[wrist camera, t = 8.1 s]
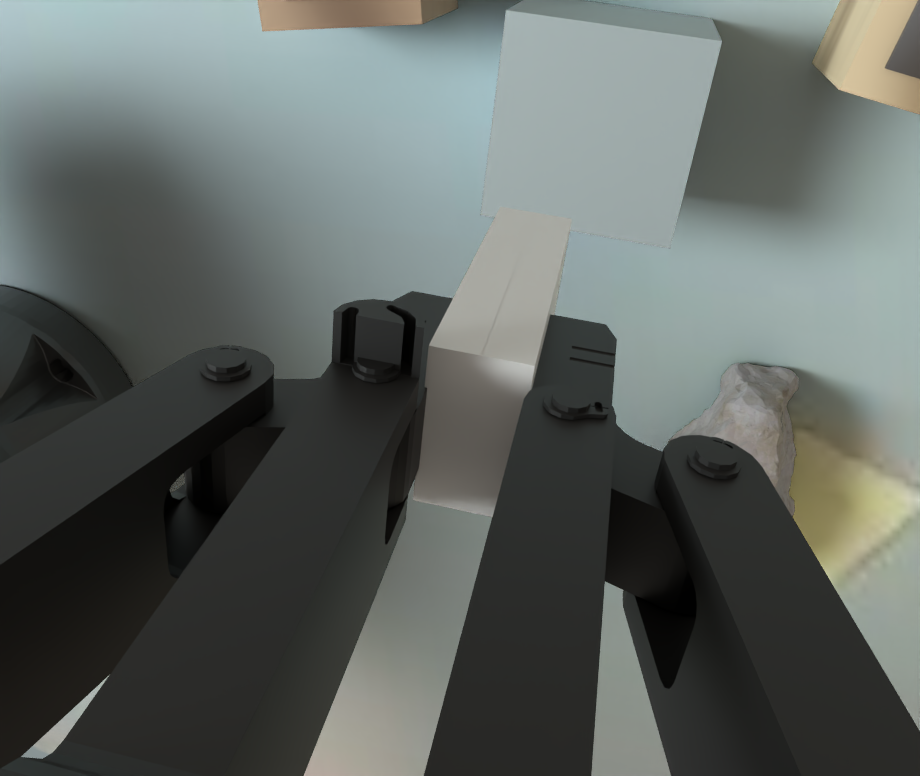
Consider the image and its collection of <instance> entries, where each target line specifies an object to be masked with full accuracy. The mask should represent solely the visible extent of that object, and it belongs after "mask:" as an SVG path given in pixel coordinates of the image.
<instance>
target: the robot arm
mask: <svg viewBox="0 0 920 776" xmlns="http://www.w3.org/2000/svg"><path fill="white" fill-rule="evenodd" d="M571 223H572V219H570V218H564V217H558V216H552V215H546V214H541V213H535V212H529V211H523V210H517V209H511V208H505V207H500V208H499V210H498V212H497V214H496V216H495V218H494V220H493V222H492V224H491V226H490V228H489V230H488V232H487V233H486V235H485V237H484V239H483V241H482V243H481V245H480V247H479V249H478V251H477V253H476V255H475V257H474V259H473V261H472V263H471V264H470V266H469V268H468V270H467V272H466V274H465V276H464V278H463V280H462V282H461V284H460V286H459V288H458V290H457V292H456V294H455V296H454V297H453V299H452V298H447V297H441V296H436V295H430V294H425V293H419V292H414V291H412V292H410V293H408V294H406V295H404V296H402V297H400V298H398V299H395V300H394V301H385V300H375V299H371V300H357V301H353V302H350V303H346V304H343V305H341V306H340V307H339V308H337V309H336V310H334V317H333V344H332V362H331V364H330V365H329V367H328V368H327V369H326V371H325V372H324V374H323V375H322V376H321V378H316V379H300V380H299V379H274V364H273V363H272V362H271V361H270V359H269V358H268V357H267V356H265V355H263V354H261V353H259V352H257V351H255V350H251V349H247V348H242V347H240V346H231V347H229V346H218V347H214V348H208V349H203V350H200V351H198V352H195V353H193V354H190V355H188V356H186V357H185V358H183V359H181V360H179V361H178V362H176V363H174V364H172V365H171V366H169V367H167V368H165V369H164V370H162V371H160V372H158V373H157V374H155V375H153V376H152V377H150V378H148V379H146V380H145V381H143V382H141V383H139V384H138V385H136V386H134V387H132V386H131V384H130V382H129V380H128V378H127V377H126V375H125V374H124V372H123V370H122V369H121V367H120V366H119V364H118V363H117V361H116V360H115V359H114V357H113V356H112V355H111V354H110V352H109V351H108V350H107V349H106V348H105V347H104V345H103V344H102V343H101V342H100V341H99V340H98V339H97V338H96V337H95V336H94V335H93V334H92V333H91V332H90V331H89V330H87V329H86V328H85V327H84V326H83V325H82V324H80V323H79V322H78V321H77V320H75V319H74V318H73V317H71V316H70V315H68V314H67V313H65V312H64V311H62V310H61V309H59V308H57V307H56V306H54V305H52V304H51V303H49V302H47V301H45V300H43V299H41V298H38V297H36V296H34V295H32V294H29V293H26V292H24V291H20V290H17V289H14V288H10V287H5V286H0V776H304V773H305V771H306V768H307V766H308V763H309V761H310V758H311V756H312V753H313V751H314V748H315V746H316V743H317V740H318V738H319V735H320V733H321V730H322V728H323V725H324V723H325V720H326V718H327V715H328V713H329V710H330V708H331V705H332V703H333V700H334V698H335V695H336V693H337V690H338V688H339V685H340V683H341V680H342V678H343V675H344V673H345V670H346V668H347V665H348V663H349V660H350V658H351V655H352V653H353V650H354V648H355V645H356V643H357V640H358V638H359V635H360V633H361V630H362V628H363V625H364V623H365V620H366V618H367V615H368V613H369V610H370V608H371V605H372V603H373V600H374V598H375V595H376V593H377V590H378V588H379V585H380V583H381V580H382V578H383V575H384V573H385V570H386V568H387V565H388V563H389V560H390V558H391V555H392V553H393V550H394V548H395V545H396V543H397V540H398V538H399V535H400V533H401V530H402V528H403V525H404V523H405V519H406V509H407V499H408V493H409V490H410V488H411V486H412V483H413V481H414V479H415V484H414V493H413V500H414V501H418V502H423V503H428V504H433V505H437V506H442V507H447V508H451V509H456V510H461V511H465V512H470V513H475V514H479V515H484V516H489V517H492V521H491V525H490V528H489V532H488V536H487V540H486V543H485V547H484V551H483V555H482V558H481V562H480V566H479V570H478V574H477V577H476V581H475V585H474V589H473V592H472V596H471V600H470V604H469V608H468V611H467V615H466V619H465V623H464V626H463V630H462V634H461V638H460V641H459V645H458V649H457V653H456V657H455V660H454V664H453V668H452V672H451V675H450V679H449V683H448V687H447V690H446V694H445V698H444V702H443V706H442V709H441V713H440V717H439V721H438V724H437V728H436V732H435V736H434V739H433V743H432V747H431V751H430V755H429V758H428V762H427V766H426V770H425V773H424V776H591V770H592V756H593V742H594V727H595V713H596V699H597V684H598V670H599V656H600V641H601V627H602V612H603V598H604V584H605V581H606V582H608V583H610V584H612V585H614V586H616V587H619V588H621V589H623V590H624V591H623V608H624V611H625V615H626V618H627V622H628V625H629V629H630V632H631V636H632V639H633V643H634V646H635V650H636V653H637V657H638V660H639V664H640V667H641V671H642V674H643V678H644V681H645V685H646V688H647V692H648V695H649V699H650V703H651V706H652V710H653V713H654V717H655V720H656V724H657V727H658V731H659V734H660V738H661V741H662V745H663V748H664V752H665V755H666V759H667V762H668V766H669V769H670V773H671V776H920V731H919V729H918V728H917V726H916V724H915V723H914V721H913V719H912V717H911V716H910V714H909V712H908V711H907V709H906V707H905V706H904V704H903V702H902V701H901V699H900V697H899V696H898V694H897V692H896V691H895V689H894V687H893V686H892V684H891V682H890V681H889V679H888V677H887V675H886V674H885V672H884V670H883V669H882V667H881V665H880V664H879V662H878V660H877V659H876V657H875V655H874V654H873V652H872V650H871V649H870V647H869V645H868V644H867V642H866V640H865V639H864V637H863V635H862V633H861V632H860V630H859V628H858V627H857V625H856V623H855V622H854V620H853V618H852V617H851V615H850V613H849V612H848V610H847V608H846V607H845V605H844V603H843V602H842V600H841V598H840V597H839V595H838V593H837V591H836V590H835V588H834V586H833V585H832V583H831V581H830V580H829V578H828V576H827V575H826V573H825V571H824V570H823V568H822V566H821V565H820V563H819V561H818V560H817V558H816V556H815V555H814V553H813V551H812V549H811V548H810V546H809V544H808V543H807V541H806V539H805V538H804V536H803V534H802V533H801V531H800V529H799V528H798V526H797V524H796V523H795V521H794V519H793V518H792V516H791V514H790V513H789V511H788V509H787V507H786V506H785V504H784V502H783V501H782V499H781V497H780V496H779V494H778V492H777V491H776V489H775V487H774V486H773V484H772V482H771V481H770V479H769V477H768V476H767V474H766V472H765V471H764V469H763V467H762V466H761V465H760V463H759V462H758V461H757V460H756V459H755V458H754V457H753V456H752V455H751V454H750V453H748V452H746V451H745V450H743V449H742V448H740V447H739V446H737V445H735V444H734V443H731V442H729V441H727V440H726V441H724V439H721V438H717V437H709V436H703V435H686V436H680V437H678V438H675V439H673V440H670V441H669V443H668V444H667V445H666V447H665V448H664V450H663V452H661V451H659V450H656V449H654V448H651V447H649V446H647V445H645V444H643V443H640V442H638V441H636V440H635V439H633V438H632V437H630V436H629V435H627V434H626V433H624V432H623V431H622V430H621V429H620V428H619V427H618V426H617V424H616V415H615V411H614V408H613V406H612V395H613V382H614V366H615V354H616V341H617V339H616V338H615V336H614V335H613V334H612V332H611V331H610V330H609V328H608V327H607V325H605V324H600V323H594V322H589V321H583V320H578V319H573V318H567V317H562V316H556V315H554V314H555V309H556V304H557V298H558V293H559V287H560V282H561V277H562V271H563V266H564V260H565V255H566V250H567V244H568V239H569V233H570V228H571ZM183 473H184V476H185V484H184V485H183V486H181V487H180V488H179V489H177V490H176V491H174V492H172V493H170V487H171V485H172V484H173V483H174V482H175V481H176V480H177V479H178V478H179V476H180V475H181V474H183ZM109 675H110V676H109ZM107 676H109V677H108V678H107V680H106V681H105V683H104V684H103V685H102V687H101V688H100V690H99V691H98V692H97V694H96V695H95V697H94V698H93V700H92V701H91V702H90V704H89V705H88V707H87V708H86V709H85V711H84V712H83V714H82V715H81V716H80V718H79V719H78V721H77V722H76V724H75V725H74V726H73V728H72V729H71V731H70V732H69V733H68V735H67V736H66V738H65V739H64V740H63V742H62V743H61V744H60V745H59V746H58V747H57V748H56V750H55V751H54V752H53V753H51V754H50V755H48V756H46V757H45V758H43V759H37V758H25V757H21V756H22V755H23V754H24V753H25V752H26V751H27V750H29V749H30V748H31V747H32V746H33V745H34V744H35V743H36V742H37V741H38V740H39V739H40V738H42V737H43V736H44V735H45V734H46V733H47V732H48V731H49V730H50V729H51V728H52V727H53V726H55V725H56V724H57V723H58V722H59V721H60V720H61V719H62V718H63V717H64V716H65V715H66V714H67V713H69V712H70V711H71V710H72V709H73V708H74V707H75V706H76V705H77V704H78V703H79V702H80V701H82V700H83V699H84V698H85V697H86V696H87V695H88V694H89V693H90V692H91V691H92V690H93V689H95V688H96V687H97V686H98V685H99V684H100V683H101V682H102V681H103V680H104V679H105V678H106V677H107Z"/></svg>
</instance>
